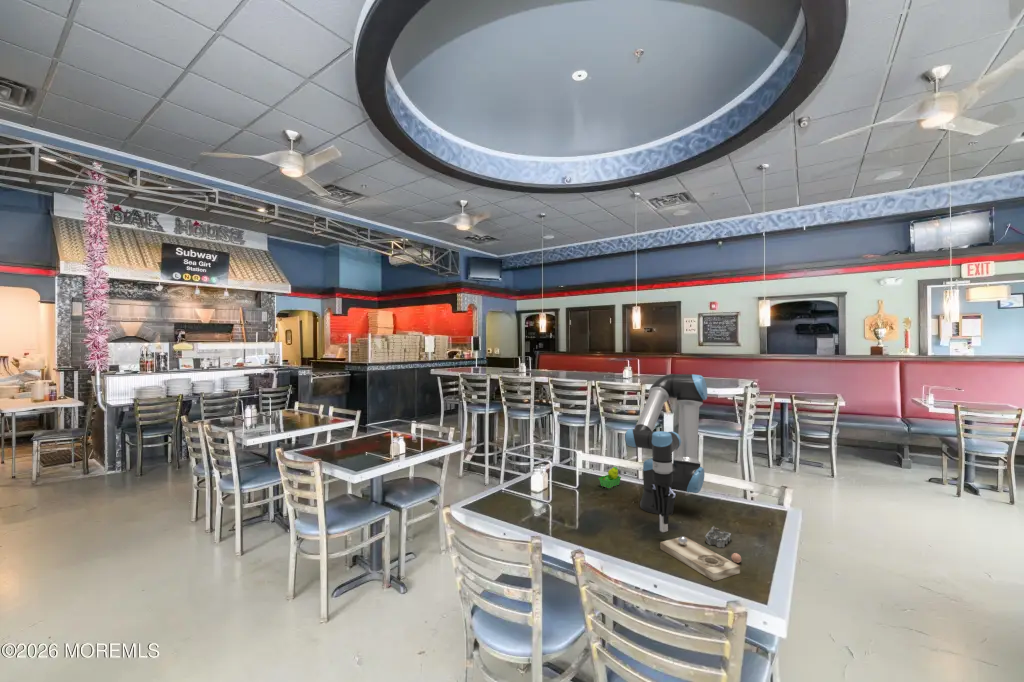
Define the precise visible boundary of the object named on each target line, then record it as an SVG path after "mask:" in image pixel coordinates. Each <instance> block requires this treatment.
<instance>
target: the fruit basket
mask: <svg viewBox="0 0 1024 682" xmlns="http://www.w3.org/2000/svg"><path fill="white" fill-rule="evenodd" d="M621 478H622V477H621V476H619V470H618V467H616V466H613V467H612V468H610V469H609V470H608V472H607V474H605V475H603V476H601V477H598V480H599V483H600V486H604V487H607V488H611V487H613V486H616V485H620V482H621ZM616 487H617V486H616ZM611 489H612V488H611Z"/></svg>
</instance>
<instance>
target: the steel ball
mask: <svg viewBox="0 0 1024 682" xmlns="http://www.w3.org/2000/svg"><path fill="white" fill-rule="evenodd" d="M678 538H679V539H678V541H679V543H680V544H681V545H683V546H684V545H686V544H687V539H686V536H685V537H684V536H683V535H681V536H679V537H678Z"/></svg>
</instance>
